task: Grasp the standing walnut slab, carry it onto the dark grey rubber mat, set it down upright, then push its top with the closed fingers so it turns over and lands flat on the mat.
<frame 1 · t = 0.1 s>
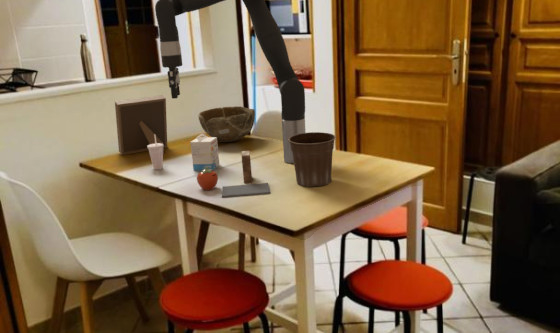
hand: (176, 96, 200), 29 cm above the table, fingers open, 8 cm apart
photo frame: (147, 152, 240), on the table
plant pot: (313, 182, 183), on the table
mat: (245, 190, 178), on the table
smoothie: (158, 168, 212), on the table
milk carton: (206, 168, 209), on the table
tomato: (208, 188, 183), on the table
walnut slab: (247, 179, 190), on the table
bowl: (229, 141, 251), on the table
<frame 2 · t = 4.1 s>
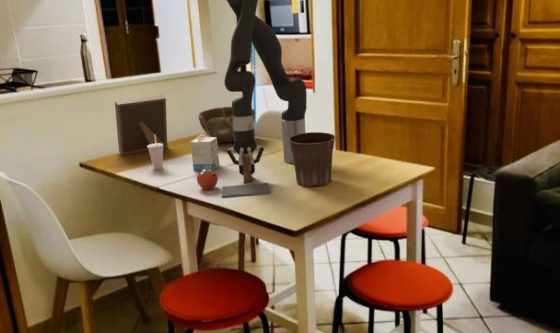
hand: (247, 174, 189), 2 cm above the table, fingers closed on walnut slab, 3 cm apart
walnut slab: (247, 179, 190), on the table, touching gripper
everything else where it was.
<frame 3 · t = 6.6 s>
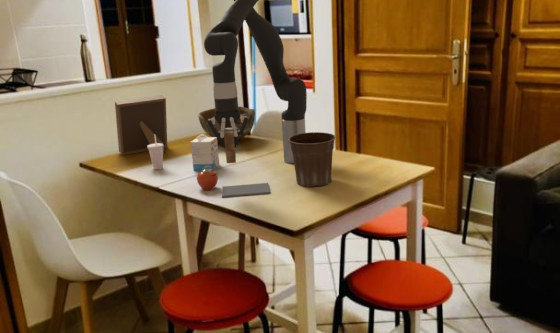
hand: (230, 147, 173), 16 cm above the table, fingers closed on walnut slab, 3 cm apart
walnut slab: (231, 159, 173), point 12 cm above the table, touching gripper
everything else where it was.
when the fingers open (4 cm above the table, at t = 9.0 s): walnut slab stays where it is, resting on mat.
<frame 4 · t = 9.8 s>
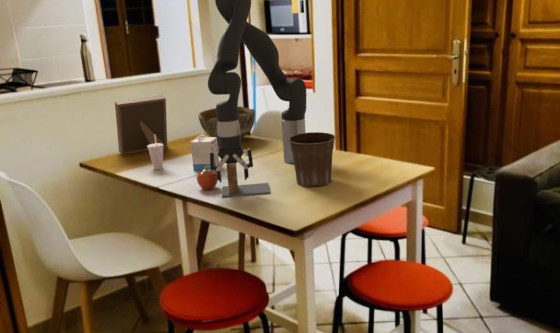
hand: (233, 180, 176), 4 cm above the table, fingers open, 8 cm apart
walnut slab: (233, 191, 176), point 1 cm above the table, touching mat
everything else where it was.
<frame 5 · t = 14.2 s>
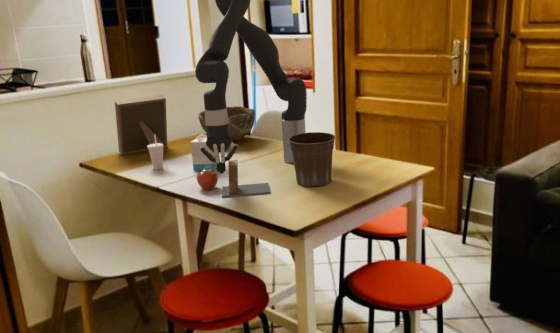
hand: (221, 172, 175), 7 cm above the table, fingers closed
walnut slab: (233, 190, 176), point 1 cm above the table, touching gripper, mat
everything else where it was.
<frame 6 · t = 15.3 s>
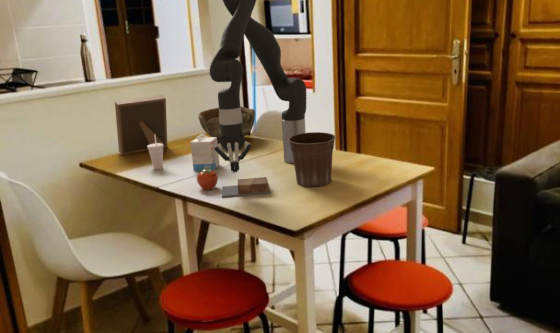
hand: (235, 171, 175), 7 cm above the table, fingers closed
walnut slab: (237, 186, 176), point 2 cm above the table, tilted 90°, touching mat
everything else where it was.
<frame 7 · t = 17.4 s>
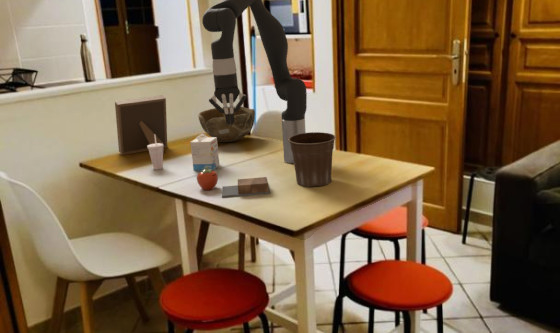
hand: (230, 124, 174), 23 cm above the table, fingers closed
nothing on the table moved.
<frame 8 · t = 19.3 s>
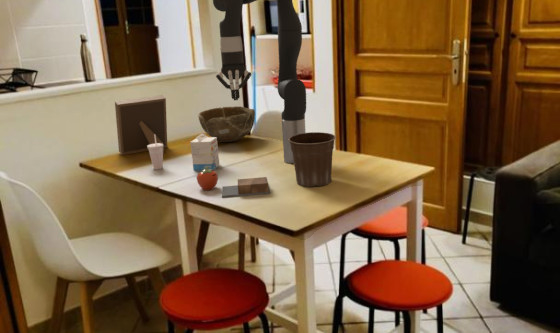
hand: (235, 99, 185), 29 cm above the table, fingers closed
nothing on the table moved.
at the end: walnut slab tilted 90°; walnut slab inside the target area on the mat (2.7 cm from its centre), point 2.1 cm above the mat's base; the gripper is holding nothing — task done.
